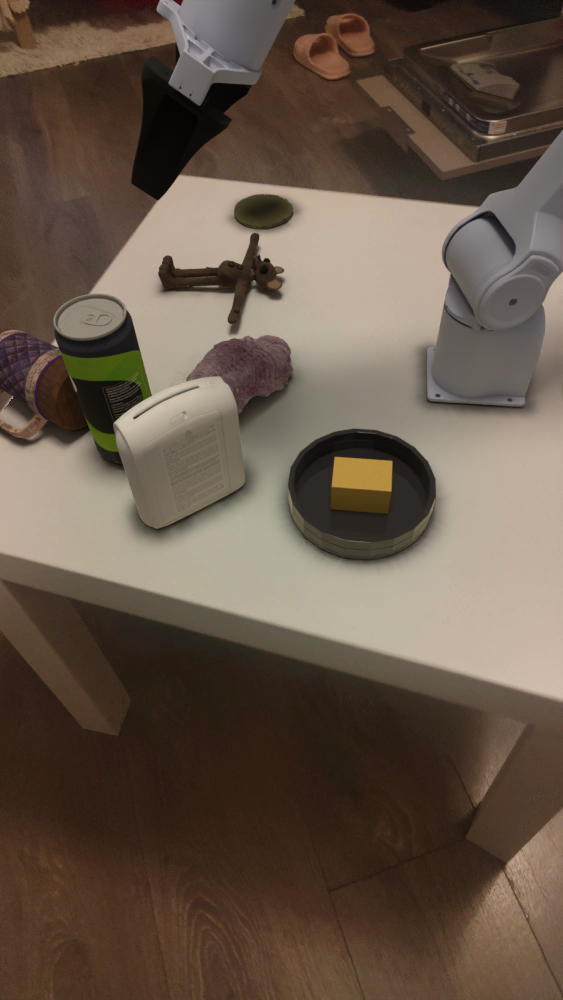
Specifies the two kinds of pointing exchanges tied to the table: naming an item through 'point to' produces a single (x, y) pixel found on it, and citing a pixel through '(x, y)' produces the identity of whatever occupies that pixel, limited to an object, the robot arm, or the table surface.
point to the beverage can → (102, 363)
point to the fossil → (248, 366)
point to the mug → (38, 383)
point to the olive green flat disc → (263, 211)
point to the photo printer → (181, 449)
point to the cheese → (361, 485)
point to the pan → (351, 528)
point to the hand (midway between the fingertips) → (158, 173)
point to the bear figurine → (226, 276)
